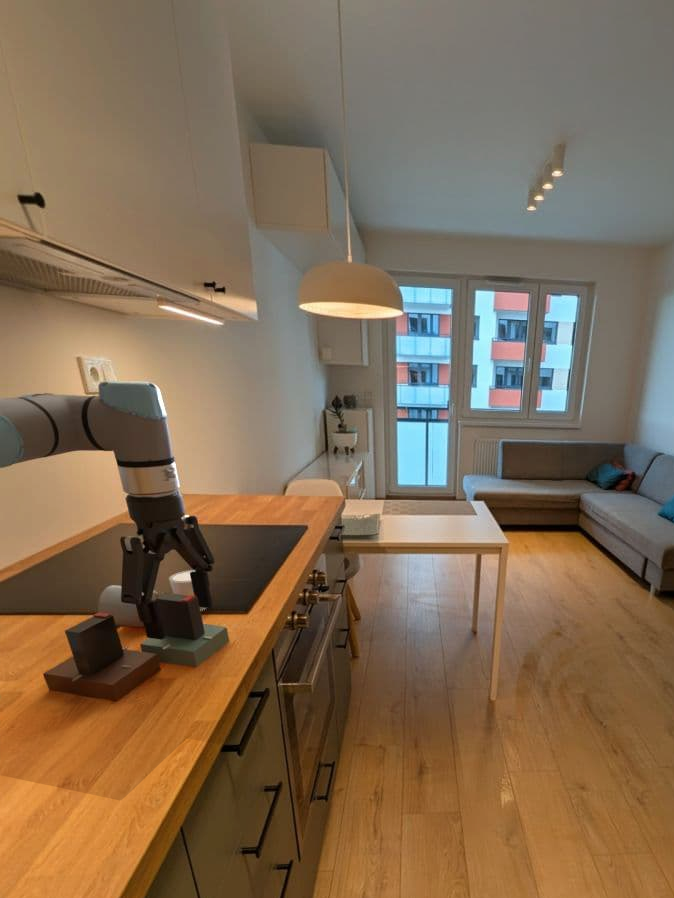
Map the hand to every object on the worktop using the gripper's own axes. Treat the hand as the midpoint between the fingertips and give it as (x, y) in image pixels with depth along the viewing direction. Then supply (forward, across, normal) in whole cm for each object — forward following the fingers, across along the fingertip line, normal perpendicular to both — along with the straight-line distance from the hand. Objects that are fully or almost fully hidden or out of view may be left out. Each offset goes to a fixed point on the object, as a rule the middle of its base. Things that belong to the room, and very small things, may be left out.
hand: (181, 621), depth 86 cm
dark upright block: (+3, 0, 0) cm, 3 cm away
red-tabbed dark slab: (+3, -11, +6) cm, 13 cm away
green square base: (+6, 0, 0) cm, 6 cm away
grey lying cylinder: (+6, +7, +16) cm, 18 cm away
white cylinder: (+6, +15, +10) cm, 19 cm away
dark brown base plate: (+6, -11, +6) cm, 14 cm away
